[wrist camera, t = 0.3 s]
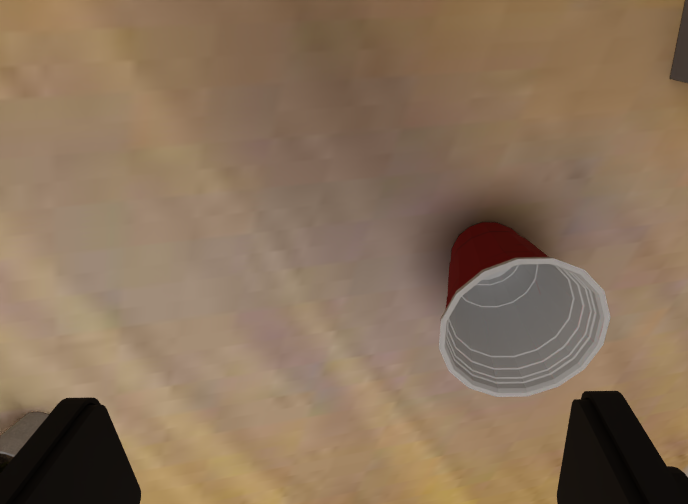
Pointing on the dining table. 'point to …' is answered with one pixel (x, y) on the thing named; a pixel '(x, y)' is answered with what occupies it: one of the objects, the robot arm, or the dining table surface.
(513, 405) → the dining table surface
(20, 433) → the house plant
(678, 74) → the cabinet
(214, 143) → the dining table surface
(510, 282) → the plastic cup
